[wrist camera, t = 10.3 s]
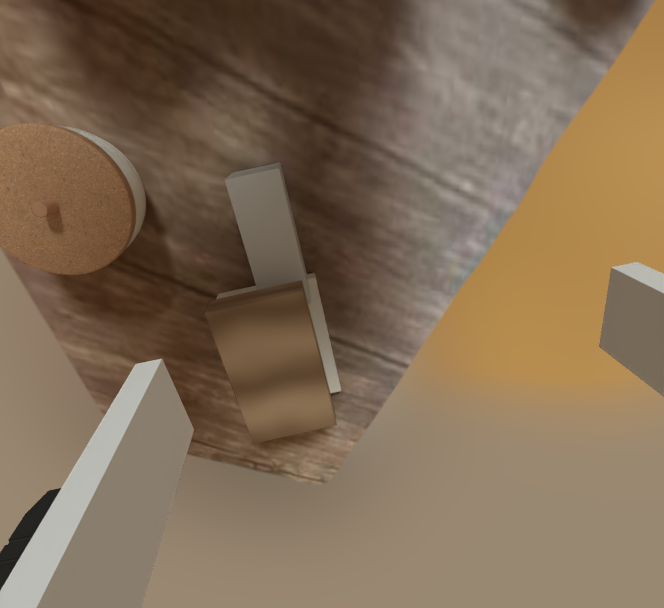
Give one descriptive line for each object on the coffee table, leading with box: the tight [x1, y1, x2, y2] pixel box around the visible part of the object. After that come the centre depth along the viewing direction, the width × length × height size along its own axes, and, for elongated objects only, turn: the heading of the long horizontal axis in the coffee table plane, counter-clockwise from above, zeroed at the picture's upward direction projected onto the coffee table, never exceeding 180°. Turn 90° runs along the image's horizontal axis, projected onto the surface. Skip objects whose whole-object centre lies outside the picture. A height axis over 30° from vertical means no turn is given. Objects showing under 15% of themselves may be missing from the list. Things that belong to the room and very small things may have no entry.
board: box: [204, 280, 337, 444], centre depth 36 cm, size 14×8×2 cm, turn 12°
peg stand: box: [216, 273, 341, 393], centre depth 41 cm, size 14×10×6 cm
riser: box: [225, 162, 311, 304], centre depth 36 cm, size 12×4×5 cm, turn 11°
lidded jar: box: [0, 123, 146, 275], centre depth 31 cm, size 11×11×9 cm
